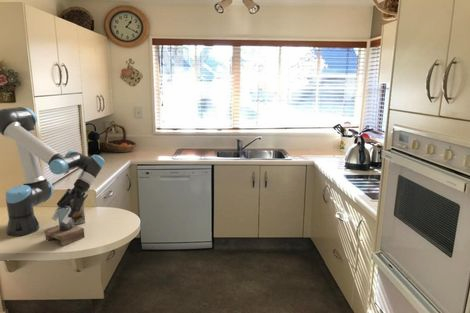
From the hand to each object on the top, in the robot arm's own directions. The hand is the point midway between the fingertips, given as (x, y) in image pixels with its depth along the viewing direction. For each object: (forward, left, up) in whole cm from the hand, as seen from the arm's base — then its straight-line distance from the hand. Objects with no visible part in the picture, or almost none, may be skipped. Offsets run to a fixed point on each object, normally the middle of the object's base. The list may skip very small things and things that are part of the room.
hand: (58, 221), depth 176 cm
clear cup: (0, +3, -5) cm, 6 cm away
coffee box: (-14, +18, -11) cm, 25 cm away
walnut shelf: (0, +2, -10) cm, 11 cm away
